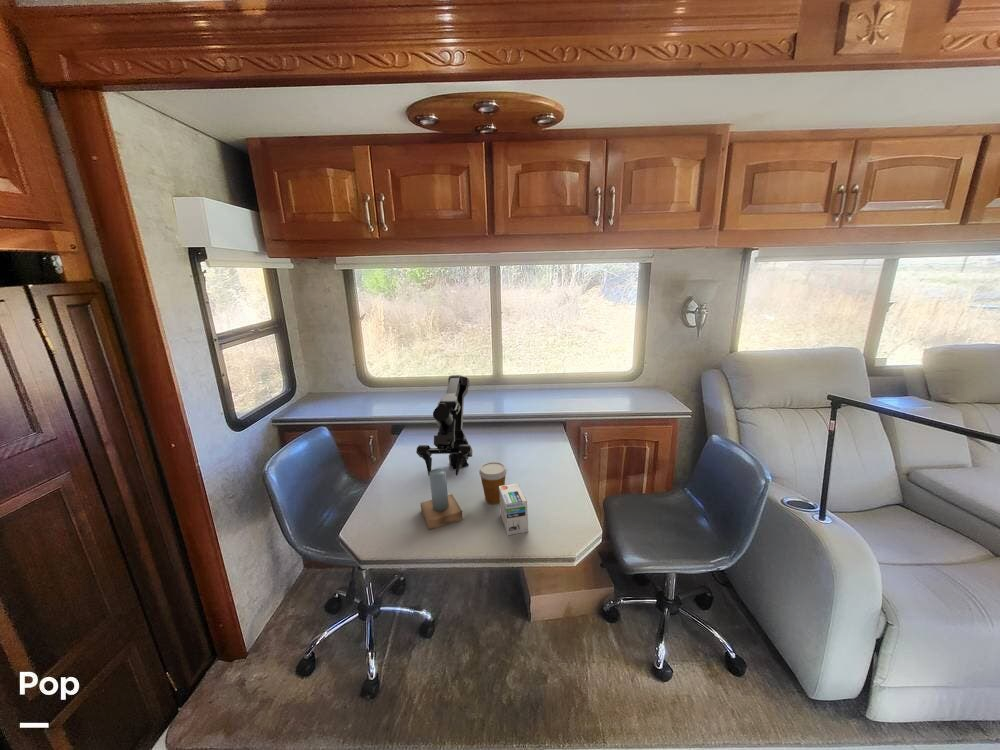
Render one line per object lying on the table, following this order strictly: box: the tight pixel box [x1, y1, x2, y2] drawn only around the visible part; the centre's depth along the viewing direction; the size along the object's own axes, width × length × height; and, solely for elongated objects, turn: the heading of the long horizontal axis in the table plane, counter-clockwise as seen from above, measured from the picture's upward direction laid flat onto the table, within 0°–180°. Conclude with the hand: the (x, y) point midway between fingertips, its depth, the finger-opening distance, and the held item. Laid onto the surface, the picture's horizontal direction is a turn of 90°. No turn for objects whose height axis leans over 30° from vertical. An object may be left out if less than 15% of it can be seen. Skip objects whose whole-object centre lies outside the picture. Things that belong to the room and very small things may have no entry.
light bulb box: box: [499, 482, 529, 536], centre depth 115 cm, size 11×7×11 cm, turn 12°
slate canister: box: [428, 467, 449, 512], centre depth 120 cm, size 5×5×12 cm
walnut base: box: [420, 493, 464, 530], centre depth 122 cm, size 11×11×3 cm
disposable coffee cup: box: [478, 461, 508, 505], centre depth 128 cm, size 10×10×12 cm
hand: (442, 475), depth 125 cm, fingers open, 9 cm apart
